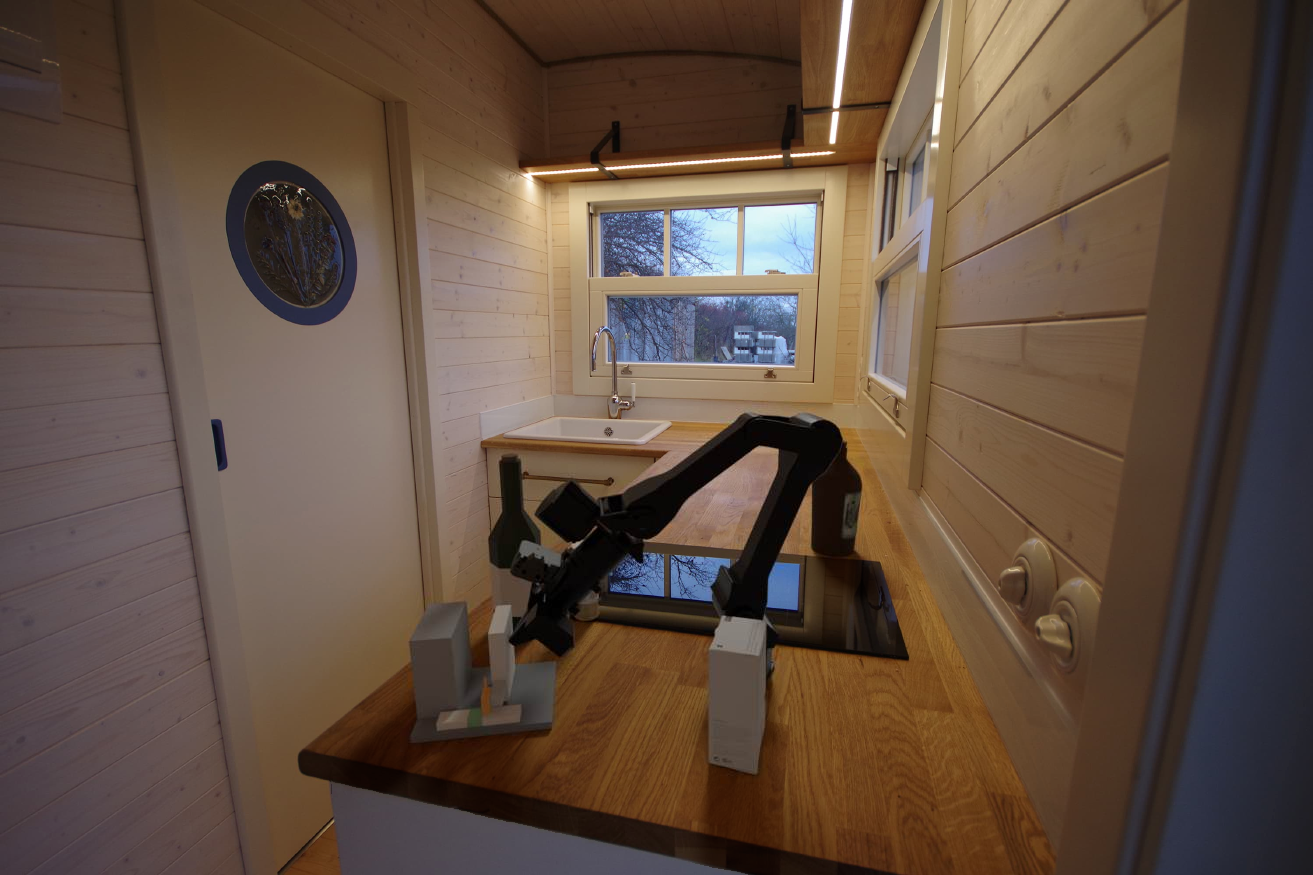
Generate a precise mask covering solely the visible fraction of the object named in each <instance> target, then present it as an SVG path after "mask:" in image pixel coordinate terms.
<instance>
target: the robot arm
mask: <svg viewBox="0 0 1313 875" xmlns="http://www.w3.org/2000/svg"><path fill="white" fill-rule="evenodd" d="M843 441H844V438H843V436H842V433H841V430H840V428H839V427H838V425H836V423H834V422H833V421H831V420H829V419H825V418H823V417H821V416H817V415H815V414H813V413H808V412H801V413H796V414H795V415H793V416H784V415H783V416H782V415H777V414H776V415H773V414H771V415H770V414H758V413H756V412H753V411H752V412H751V411H748V412H743V413H742V414H740V415H739V416H738V417H737V418H736V419H735V420H734V421H733V422H732V423H731V424H729V425H728V426H727V427H725V428H724V429H722V430H721V431H720V432H719V433H717V434H716V435H714V436H713V437H712V438H711V439H710V440H708V441H706V442H705V443H704V444H703V445H701V446H699V448H697V449H696V450H695V451H693V452H692V453H690V454H689V455H688V456H687V457H685V458H684V459H683V460H681V461H680V462H679V463H677V464H676V465H674V466H673V467H672V468H671V469H667V471H665V472H662V473H660V474H657V475H654V476H651V477H648V478H646V479H644V480H642V481H640V482H638V483H636V484H633V485H632V486H630V487H628V488H627V489H626V490H624V492H623V493H617V494H611V495H606V496H600V497H597V498H596V499H595V498H594V497H593V496H592V495H591V494H590V493H589V492H588V491H587V490H586V489H585V488H583V486H582V485H581V483H579V481H578V480H577V479H575V478H574V477H573V476H571V477H570V478H568V479H567V481H566V482H563V483H562V484H560V485H559V486H558V487H557V488H556V489H555V488H553V489H552V490H551V491H550V492H549V493H548V494H547V495H546V497H545V498H544V499H543V500H542V501H541V502H540V504H539V506H537V508H536V510H535V512H534V516H535V518H536V519H538V521H540V522H541V523H542V524H544V525H545V526H546V527H548V529H550V530H551V532H554V534H556V536H558V537H559V538H560V539H561V540H563V541H564V542H565V543H567V544H569V543H572V544H575V543H576V542H580V541H582V540H583V541H582V542H581V543H580V544H579V545H578V546H577V547H576V548H575V549H574V550H573V549H572V548H571V546H570V547H569V548H568V547H567V548H565V549H564V550H563V552H561V553H559V552H556V551H553V550H552V549H550V548H548V547H545V546H543V545H541V546H540V545H538V544H535V543H532V542H529V541H522V542H521V544H520V546H519V548H518V551H517V553H516V555H515V557H514V560H513V562H512V566H511V569H510V573H511V574H512V575H513V576H515V577H517V578H521V579H523V580H526V581H529V582H532V584H531V589H530V597H529V600H528V605H527V610H526V611H525V613H524V615H523V616H522V618H521V620H520V621H519V623H518V625H517V626H516V628H515V630H514V631H513V633H512V635H511V636H510V638H509V643H510V644H512V645H513V646H514V647H516V646H519V645H521V644H525V643H528V642H531V641H534V640H536V641H538V642H539V643H540V644H541V645H543V646H544V647H545V648H547V649H548V650H549V651H551V652H552V653H553V654H554V655H556V656H557V657H558V658H563V659H564V658H565V657H566V656H567V655H568V654H569V653H570V652H571V651H572V650H573V649H574V648H575V622H574V621H573V620H572V619H570V613H571V614H572V615H573V616H574V615H575V616H576V615H577V614H578V613H579V612H580V603H581V602H582V601H583V600H584V599H585V598H586V597H587V596H588V595H589V594H590V593H591V592H592V591H593V592H595V593H596V594H598V593H599V594H600V591H602V590H603V585H602V584H603V581H604V580H605V579H606V578H607V577H608V576H610V575H611V573H612V572H613V571H614V570H615V569H616V568H617V567H618V566H619V565H620V564H621V563H622V562H623V561H624V560H625V559H626V558H627V557H628V556H630V557H631V558H632V559H633V560H635V561H636V562H637V563H638V564H640V565H642V564H644V562H645V559H644V549H645V548H644V547H645V541H647V540H651V539H653V538H655V537H657V536H658V535H659V534H660V533H661V532H662V531H664V529H666V527H667V526H668V525H670V523H671V522H672V521H673V520H674V519H675V518H676V516H677V515H678V513H679V512H680V510H681V509H682V507H683V506H684V504H685V503H686V502H687V501H688V500H689V499H690V498H691V497H692V496H693V495H694V494H696V493H697V492H698V491H700V490H702V489H703V488H704V487H706V486H707V485H709V483H711V482H712V481H713V480H715V479H716V478H718V477H719V476H721V474H723V473H724V472H725V471H726V470H729V468H730V467H732V466H734V465H735V464H736V463H737V462H739V461H740V460H742V459H743V458H744V457H745V456H747V455H748V454H750V453H752V452H753V450H755V449H757V448H759V447H765V448H766V447H767V448H771V449H776V450H778V454H777V470H776V473H775V476H774V479H773V480H772V483H771V485H770V487H769V490H768V492H767V494H766V497H765V499H764V501H763V504H762V505H761V507H760V510H759V513H758V515H757V516H756V519H755V522H754V524H753V526H752V529H751V531H750V533H749V535H748V538H747V539H746V543H745V544H744V547H743V550H742V552H741V554H740V556H739V558H738V559H737V561H736V562H734V564H732V565H731V566H730V567H727V566H725V565H723V564H721V565H720V566H719V568H718V571H717V574H716V578H715V579H714V582H713V583H712V584H710V586H709V588H710V590H711V592H712V593H711V601H712V604H713V606H714V608H715V611H716V612H717V614H718V616H719V618H720V620H721V617H722V616H730V617H739V618H747V619H755V620H762V621H766V622H767V625H766V683H767V682H768V680H769V677H770V676H771V673H772V671H773V669H774V667H775V661H774V660H773V649H775V647H776V646H777V643H778V640H779V637H780V634H779V633H778V631H777V629H776V628H775V626H774V625H773V624H772V622H771V620H770V619H769V617H768V615H767V614H766V610H767V606H768V600H769V579H770V576H771V573H772V571H773V568H774V566H775V564H776V562H777V559H778V557H779V555H780V554H781V551H782V549H783V546H784V544H785V541H786V539H787V537H788V535H789V533H790V530H791V528H792V527H793V523H794V521H795V520H796V518H797V516H798V513H799V510H800V508H801V506H802V504H803V501H804V499H805V497H806V496H807V495H806V494H807V493H808V490H809V488H810V486H812V483H813V482H814V481H815V480H817V479H818V478H819V477H820V476H821V475H822V474H824V473H825V472H826V471H827V470H828V468H829V467H830V465H831V464H832V462H833V461H834V459H835V458H836V456H837V455H838V453H839V452H840V450H841V447H842V443H843ZM644 540H645V541H644ZM536 583H539V585H537V584H536ZM575 616H574V617H575Z"/></svg>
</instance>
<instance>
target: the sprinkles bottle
mask: <svg viewBox="0 0 1313 875" xmlns="http://www.w3.org/2000/svg"><path fill="white" fill-rule="evenodd" d="M583 540H584V539H583ZM583 540H582V541H583ZM582 541H580V542H576V543H575V544H573V543H572V544H571V546H570V547H571V548H572V549H573V550H574V549H575V548H576V547H577V546H578V545H579V544H580V543H581V542H582ZM599 594H600V592H599V593H598V594H596V593H595V592H593V591H592V592H591V593H590V594H589V595H588V596H587V597H586V598H585V599H584V600H583V601H582V602H581V603H580V612H579V613H578V614H577V615H576V616H575V615H573V617H574V618H575V619H576V620H578V621H582V622H588V621H594V620H595V619H596V618H598V617H599V615H600V609H599V607H600V606H599Z"/></svg>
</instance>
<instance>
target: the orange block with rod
mask: <svg viewBox="0 0 1313 875" xmlns="http://www.w3.org/2000/svg"><path fill="white" fill-rule="evenodd" d="M491 689H492V688H491V687H487V678H486V677H484V688H483V691H482V694H481V707H482V714H490V713H491V709H492V707H491V706H490V693H491Z"/></svg>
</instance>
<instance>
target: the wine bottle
mask: <svg viewBox="0 0 1313 875" xmlns="http://www.w3.org/2000/svg"><path fill="white" fill-rule="evenodd" d="M518 456H519V455H518V453H505V454H502V455H501V459H500V460H498V468H499V470H498V471H499V483H500V484H499V485H500V498H501V499H500V500H501V510H502V511H501V514H500V515H499V517H498V518H497V521H496V522H495V523H494V526H493V528H492V530H491V532H490V533H489V535H488V538H487V540H488V541H487V543H488V554H489V555H488V557H489V568H490V581H491V583H490V584H491V598H492V609H493V610H492V611H493V613H494V612H495V609H496V606H501V605H511V610H512V625H513V631H514V630H515V628H516V626H517V625H518V623H519V621H520V620H521V618H522V616H523V615H524V613H525V611H526V610H527V605H528V600H529V597H530V589H531V584H532V582H529V581H526V580H523V579H521V578H517V577H515V576H513V575H512V574H511V573H510V569H511V566H512V562H513V560H514V557H515V555H516V553H517V551H518V548H519V546H520V544H521V542H522V541H529V542H532V543H535V544H538V545H540V546H542V536H541V535H542V533H541V530H540V528H539V527H538V526H537V524H536V523H535V521H533V519H532V518H531V516H530V515H529V514H528V512H527V511H526V510H525V506H524V503H525V502H524V488H523V474H522V472H523V471H522V459H521V458H519V457H518ZM536 584H537V585H539V583H536Z"/></svg>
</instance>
